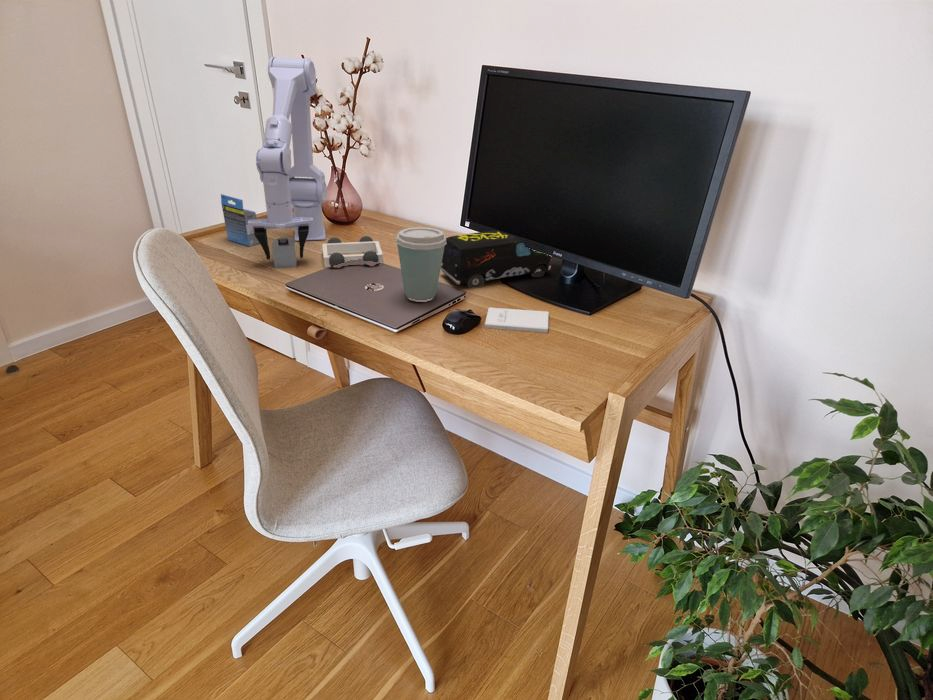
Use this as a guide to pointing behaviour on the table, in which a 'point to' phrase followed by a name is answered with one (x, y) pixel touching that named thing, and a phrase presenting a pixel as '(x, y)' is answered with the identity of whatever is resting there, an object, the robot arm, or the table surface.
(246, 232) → the label tape box
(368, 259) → the chassis
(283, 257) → the engine block
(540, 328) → the external hard drive
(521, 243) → the toy van
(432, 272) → the disposable coffee cup
